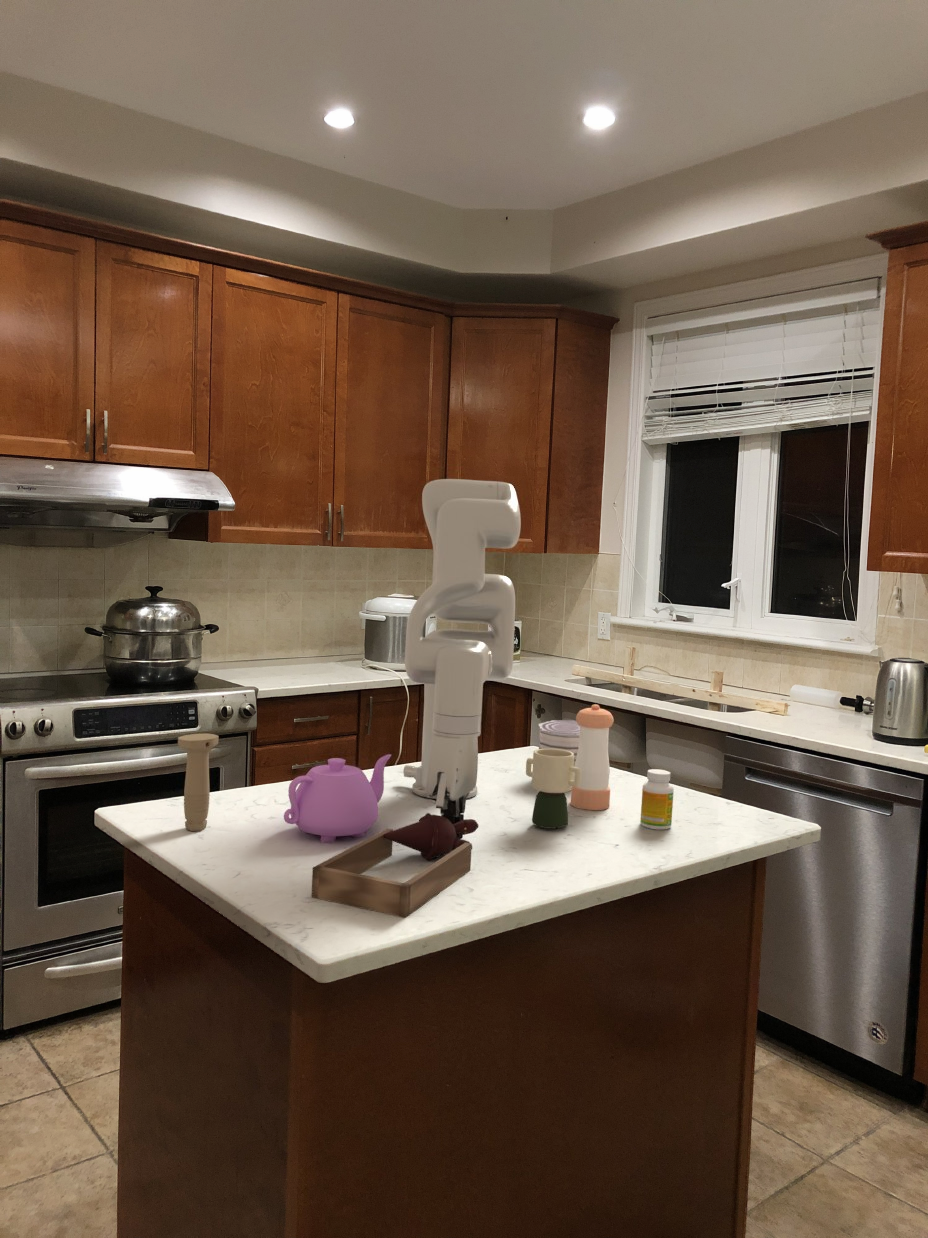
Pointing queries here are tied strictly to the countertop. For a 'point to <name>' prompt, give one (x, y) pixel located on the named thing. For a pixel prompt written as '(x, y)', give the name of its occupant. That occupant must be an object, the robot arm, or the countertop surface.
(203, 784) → the handle
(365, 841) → the frame
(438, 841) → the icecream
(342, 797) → the teapot
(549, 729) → the can
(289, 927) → the countertop surface
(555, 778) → the character mug
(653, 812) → the supplement bottle
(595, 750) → the salt shaker
